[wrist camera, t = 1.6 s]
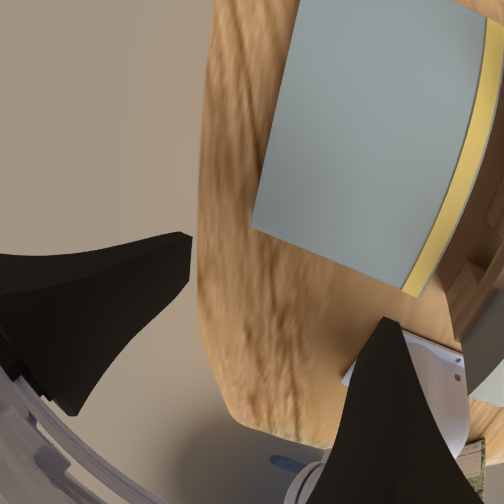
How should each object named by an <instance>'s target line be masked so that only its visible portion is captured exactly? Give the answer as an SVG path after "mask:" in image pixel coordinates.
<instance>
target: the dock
mask: <svg viewBox="0 0 504 504" xmlns="http://www.w3.org/2000/svg"><path fill="white" fill-rule="evenodd" d="M503 70H504V26H503V25H501V24H499V23H497V22H496V21H494V20H492V19H490V18H489V17H485V16H483V15H481V14H479V13H477V12H475V11H473V10H471V9H469V8H467V7H465V6H463V5H461V4H459V3H456V2H454V1H452V0H300V4H299V8H298V12H297V17H296V21H295V25H294V30H293V34H292V38H291V43H290V47H289V52H288V56H287V60H286V65H285V69H284V74H283V78H282V83H281V87H280V92H279V96H278V101H277V105H276V110H275V114H274V119H273V123H272V128H271V132H270V137H269V141H268V146H267V150H266V155H265V160H264V164H263V169H262V173H261V178H260V183H259V187H258V192H257V196H256V201H255V206H254V210H253V215H252V220H251V224H250V228H253V229H255V230H258V231H260V232H263V233H265V234H268V235H270V236H273V237H275V238H278V239H280V240H283V241H285V242H288V243H290V244H293V245H295V246H298V247H300V248H303V249H305V250H308V251H310V252H313V253H315V254H317V255H320V256H322V257H325V258H327V259H330V260H332V261H334V262H337V263H339V264H342V265H344V266H346V267H349V268H351V269H354V270H356V271H358V272H361V273H363V274H365V275H368V276H370V277H373V278H375V279H377V280H380V281H382V282H384V283H387V284H389V285H391V286H394V287H396V288H398V289H400V290H401V291H402V292H405V293H407V294H409V295H411V296H414V297H416V298H417V297H419V298H420V296H421V294H422V293H423V291H424V289H425V287H426V286H427V284H428V282H429V280H430V279H431V277H432V275H433V273H434V271H435V270H436V268H437V266H438V264H439V262H440V260H441V258H442V256H443V254H444V252H445V250H446V248H447V246H448V244H449V242H450V240H451V238H452V236H453V234H454V232H455V230H456V227H457V225H458V223H459V221H460V219H461V216H462V214H463V212H464V209H465V207H466V204H467V202H468V199H469V197H470V194H471V192H472V189H473V187H474V184H475V181H476V178H477V176H478V173H479V170H480V167H481V164H482V161H483V158H484V154H485V151H486V148H487V144H488V141H489V137H490V134H491V130H492V126H493V122H494V118H495V114H496V109H497V105H498V100H499V95H500V89H501V83H502V77H503Z"/></svg>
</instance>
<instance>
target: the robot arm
mask: <svg viewBox="0 0 504 504" xmlns="http://www.w3.org/2000/svg"><path fill="white" fill-rule="evenodd" d="M192 238H193V237H191V236H189V235H187V234H184V233H182V232H173V233H168V234H163V235H159V236H154V237H150V238H147V239H143V240H139V241H134V242H131V243H126V244H122V245H117V246H113V247H109V248H104V249H99V250H94V251H88V252H81V253H73V254H62V255H49V256H22V255H9V254H0V504H107V503H106V502H105V501H103V500H102V499H101V498H99V497H98V496H97V495H95V494H94V493H93V492H91V491H90V490H89V489H87V488H86V487H85V486H84V485H83V484H82V483H80V482H79V481H78V480H77V479H75V478H74V477H73V476H72V475H71V474H70V473H69V472H68V471H66V469H68V467H69V466H70V465H71V462H70V461H69V460H68V459H67V458H66V457H65V456H64V455H63V454H62V453H61V452H60V450H59V449H58V448H57V447H55V446H54V444H52V443H51V442H50V441H49V440H48V439H47V438H46V437H45V436H44V435H43V434H42V433H41V432H40V431H39V430H38V429H37V427H36V424H37V421H38V422H39V423H40V424H41V425H42V426H43V428H44V429H45V430H46V431H47V432H48V433H49V434H50V435H51V436H52V437H53V438H54V439H55V440H56V441H57V442H58V444H59V445H60V446H61V447H62V448H63V449H65V450H66V451H67V452H68V453H69V454H70V455H71V456H72V457H73V458H74V459H75V460H76V461H77V462H78V463H80V464H81V465H82V466H83V467H84V468H85V469H86V470H87V471H89V472H90V473H91V474H92V475H93V476H95V477H96V478H97V479H98V480H99V481H101V482H102V483H103V484H104V485H106V486H107V487H108V488H110V489H111V490H112V491H114V492H115V493H116V494H118V495H119V496H120V497H122V498H123V499H125V500H126V501H127V502H129V503H130V504H169V503H167V502H165V501H164V500H162V499H160V498H158V497H157V496H155V495H154V494H152V493H151V492H149V491H147V490H146V489H144V488H143V487H141V486H140V485H138V484H137V483H135V482H134V481H133V480H131V479H130V478H128V477H127V476H126V475H124V474H123V473H121V472H120V471H119V470H117V469H116V468H115V467H113V466H112V465H111V464H110V463H108V462H107V461H106V460H104V459H103V458H102V457H101V456H100V455H98V454H97V453H96V452H95V451H93V449H91V448H90V447H89V446H88V445H87V444H86V443H85V442H83V441H82V440H81V439H80V438H79V437H78V436H77V435H76V434H75V433H74V432H73V431H72V430H70V429H69V428H68V427H67V426H66V425H65V424H64V423H63V422H62V421H61V420H60V419H59V418H58V417H57V416H56V415H55V414H54V413H53V412H52V410H50V408H49V407H48V406H47V405H46V404H45V403H44V402H43V400H42V399H41V398H40V397H41V396H42V395H44V396H45V397H46V398H47V400H48V401H52V400H53V401H54V402H55V403H56V404H57V405H58V406H59V407H60V408H61V409H62V410H63V411H64V412H65V413H66V414H67V415H68V416H77V415H78V413H79V412H80V410H81V408H82V406H83V404H84V403H85V401H86V400H87V398H88V396H89V395H90V393H91V391H92V390H93V389H94V387H95V386H96V384H97V383H98V381H99V380H100V378H101V377H102V375H103V374H104V373H105V371H106V370H107V369H108V367H109V366H110V364H111V363H112V362H113V361H114V359H115V358H116V357H117V356H118V354H119V353H120V352H121V351H122V350H123V349H124V347H125V346H126V345H127V344H128V343H129V342H130V340H131V339H132V338H133V337H134V336H135V335H136V334H137V333H138V332H139V331H141V330H142V329H143V328H144V327H145V326H146V325H147V324H148V323H149V322H150V321H151V320H152V319H154V318H155V317H156V316H157V315H158V314H159V313H160V312H161V311H162V310H163V309H164V308H165V307H166V306H168V304H170V303H171V302H172V301H173V300H174V299H175V298H176V296H177V295H178V294H179V293H180V292H181V290H182V289H183V288H184V286H185V285H186V284H187V283H188V281H189V276H190V262H191V248H192ZM458 358H459V359H458ZM342 384H343V385H345V386H348V391H347V396H346V400H345V404H344V409H343V413H342V417H341V421H340V425H339V429H338V433H337V436H336V439H335V442H334V445H333V448H332V449H326V450H325V453H324V456H323V458H322V461H321V462H314V463H311V464H309V465H307V466H306V467H305V468H304V469H303V470H302V471H301V472H300V473H299V474H298V476H297V477H296V478H295V479H294V481H293V482H292V484H291V486H290V487H289V490H288V492H287V494H286V497H285V501H284V504H484V503H483V501H482V500H481V498H480V497H479V495H478V494H477V493H476V491H475V490H474V489H473V487H472V486H471V484H470V483H469V482H468V480H467V479H466V477H465V475H464V474H463V472H462V470H461V469H460V467H459V466H458V464H457V462H456V461H455V459H456V458H457V456H458V455H459V454H460V452H461V451H462V449H463V447H464V445H465V442H466V440H467V437H468V434H469V429H470V404H469V397H468V395H467V384H466V375H465V367H464V360H463V354H461V353H459V352H456V351H454V350H451V349H449V348H446V347H444V346H441V345H439V344H436V343H434V342H431V341H429V340H426V339H424V338H422V337H419V336H417V335H414V334H412V333H409V332H407V331H404V330H402V329H401V327H400V324H399V322H396V321H394V320H391V319H389V318H386V317H384V316H383V318H382V319H381V321H380V322H379V324H378V326H377V327H376V329H375V330H374V332H373V333H372V335H371V337H370V338H369V340H368V341H367V343H366V344H365V346H364V347H363V349H362V350H361V351H360V353H359V354H358V357H357V359H356V360H355V362H354V363H353V364H352V366H351V367H350V369H349V370H348V371H347V373H346V374H345V376H344V377H343V378H342Z"/></svg>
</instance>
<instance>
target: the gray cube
mask: <svg viewBox="0 0 504 504" xmlns="http://www.w3.org/2000/svg"><path fill="white" fill-rule="evenodd" d="M461 347H462V353H463V360H464V367H465V375H466V384H467V395H468V397H471V398H474V399H477V400H480V401H483V402H487V403H490V404H493V405H497V406H500V407H504V291H503V290H501V289H499V290H498V291H497V293H496V295H495V296H494V298H493V299H492V301H491V302H490V304H489V305H488V307H487V308H486V310H485V311H484V313H483V314H482V316H481V317H480V319H479V320H478V321H477V323H476V324H475V325H474V327H473V328H472V330H471V331H470V332H469V334H468V335H467V336H466V337H465V339H464V340H463V341H462V343H461Z"/></svg>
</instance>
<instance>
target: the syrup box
mask: <svg viewBox="0 0 504 504" xmlns="http://www.w3.org/2000/svg"><path fill="white" fill-rule="evenodd" d="M455 461H456V462H457V464H458V466H459V467H460V469H461V470H462V472H463V474H464V475H465V477H466V479H467V480H468V482H469V483H470V484H471V486H472V487H473V489H474V490H475V491H476V493H477V494H478V495H479V497H480V498H481V500H482V501H483V497H484V485H485V464H486V442H485V439H482V440H479V441H476V442H472V443H469V444H465V445H464V447H463V449H462V451H461V452H460V454H459V455H458V456H457V458H456V459H455Z"/></svg>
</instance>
